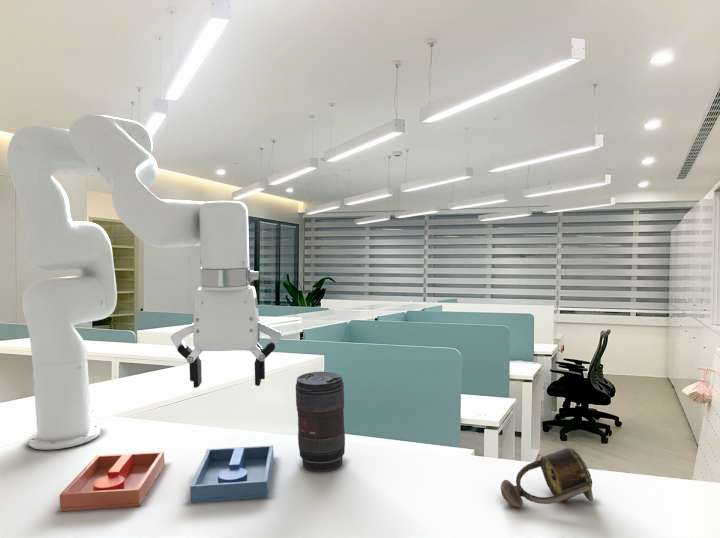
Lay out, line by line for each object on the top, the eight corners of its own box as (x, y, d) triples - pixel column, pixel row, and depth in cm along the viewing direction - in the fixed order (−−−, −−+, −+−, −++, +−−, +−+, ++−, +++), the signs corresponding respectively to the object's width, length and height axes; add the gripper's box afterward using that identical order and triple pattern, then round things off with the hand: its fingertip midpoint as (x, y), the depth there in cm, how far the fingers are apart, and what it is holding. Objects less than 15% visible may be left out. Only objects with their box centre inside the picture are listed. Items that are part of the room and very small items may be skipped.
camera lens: (289, 470, 97) (286, 381, 96) (311, 452, 104) (308, 369, 103) (334, 476, 94) (331, 385, 93) (353, 457, 101) (351, 372, 100)
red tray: (97, 469, 99) (96, 455, 99) (164, 465, 100) (164, 451, 100) (60, 511, 84) (59, 494, 84) (139, 506, 85) (138, 489, 85)
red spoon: (119, 499, 86) (118, 482, 86) (89, 501, 86) (88, 484, 86) (141, 469, 98) (140, 453, 97) (114, 470, 97) (113, 455, 97)
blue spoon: (245, 491, 88) (245, 474, 88) (216, 493, 88) (215, 476, 88) (253, 462, 99) (252, 447, 99) (226, 463, 99) (226, 448, 99)
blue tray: (208, 463, 101) (207, 449, 100) (273, 459, 101) (273, 445, 101) (190, 503, 86) (189, 486, 86) (267, 498, 87) (266, 481, 87)
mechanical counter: (604, 482, 77) (592, 439, 86) (505, 467, 79) (503, 427, 89) (596, 526, 79) (585, 480, 88) (500, 511, 82) (499, 467, 91)
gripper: (281, 276, 97) (283, 376, 99) (175, 277, 96) (178, 379, 97) (278, 280, 90) (280, 389, 91) (163, 282, 88) (167, 393, 90)
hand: (228, 384), depth 94 cm, fingers open, 9 cm apart
